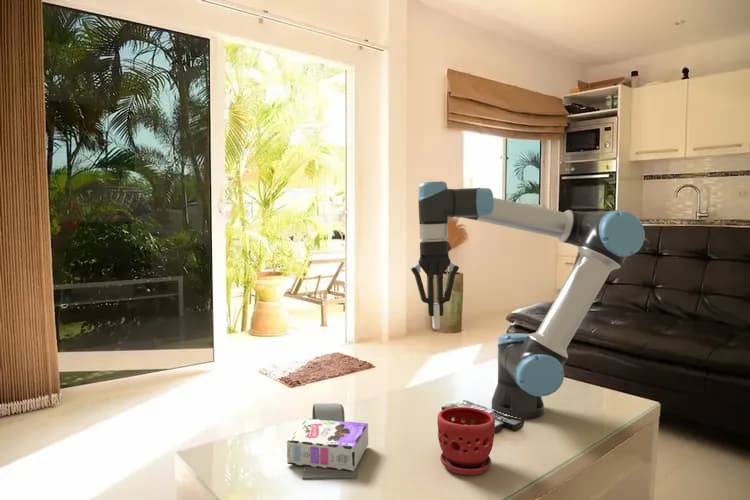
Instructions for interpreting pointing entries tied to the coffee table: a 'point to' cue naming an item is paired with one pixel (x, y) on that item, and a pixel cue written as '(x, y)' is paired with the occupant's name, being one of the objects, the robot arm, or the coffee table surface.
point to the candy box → (328, 444)
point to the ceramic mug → (328, 412)
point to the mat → (327, 473)
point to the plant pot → (466, 439)
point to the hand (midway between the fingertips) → (436, 327)
